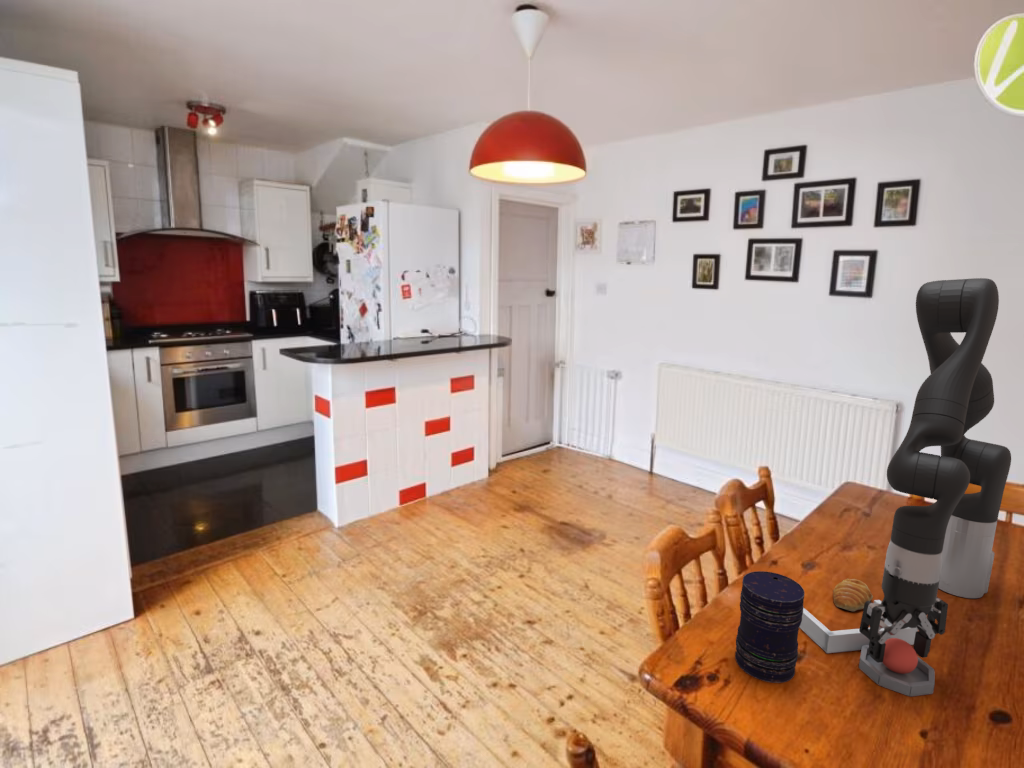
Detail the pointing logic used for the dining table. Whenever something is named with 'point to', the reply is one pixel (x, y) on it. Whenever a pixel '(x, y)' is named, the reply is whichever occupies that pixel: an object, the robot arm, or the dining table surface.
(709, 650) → the dining table surface
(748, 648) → the dark blue ridged cylinder
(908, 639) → the white u-shaped bracket
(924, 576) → the robot arm
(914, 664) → the ball
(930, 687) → the dish
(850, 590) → the pastry
